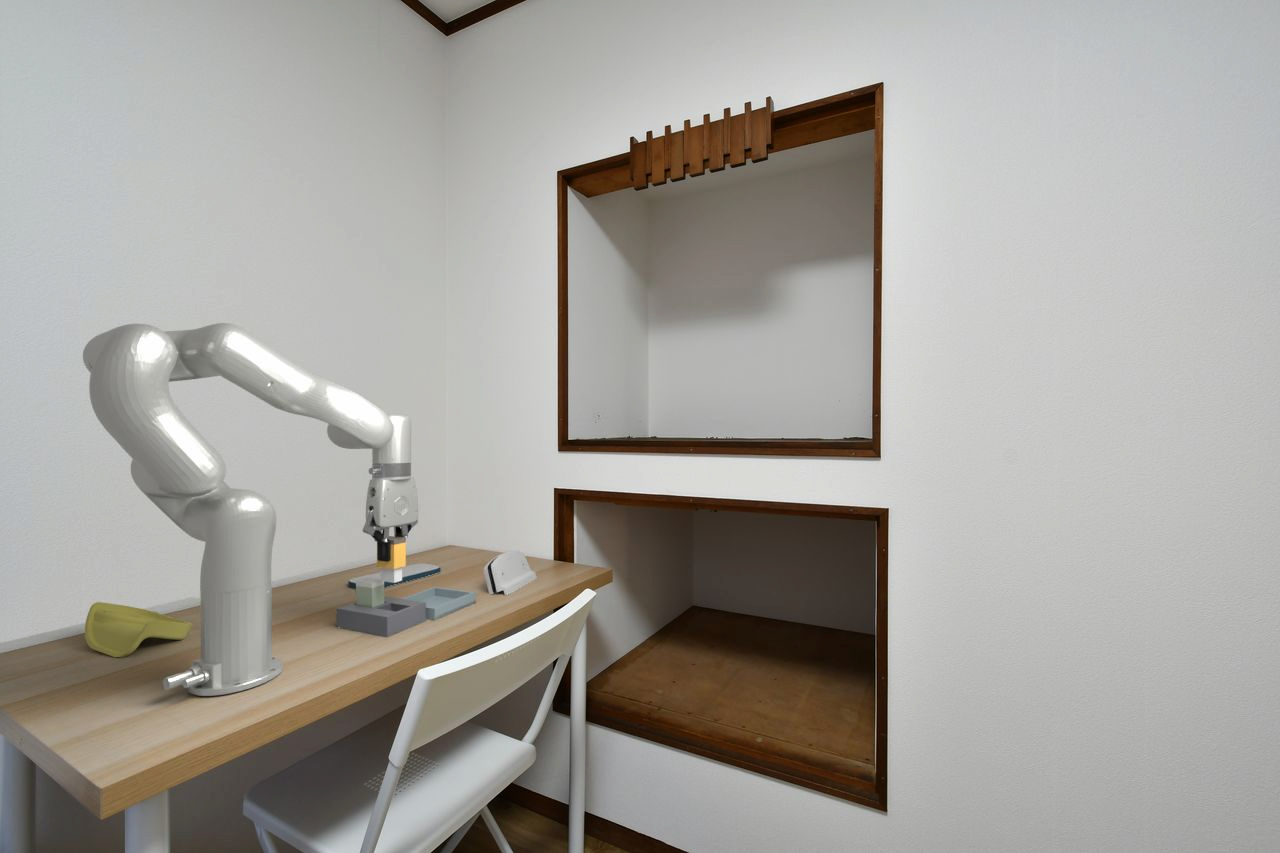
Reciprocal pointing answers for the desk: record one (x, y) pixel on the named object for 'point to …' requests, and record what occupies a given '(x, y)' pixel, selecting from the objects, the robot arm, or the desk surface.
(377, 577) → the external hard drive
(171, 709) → the desk surface
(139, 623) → the plastic component
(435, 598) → the parts tray
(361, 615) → the block
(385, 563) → the block
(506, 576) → the grey slotted holder
